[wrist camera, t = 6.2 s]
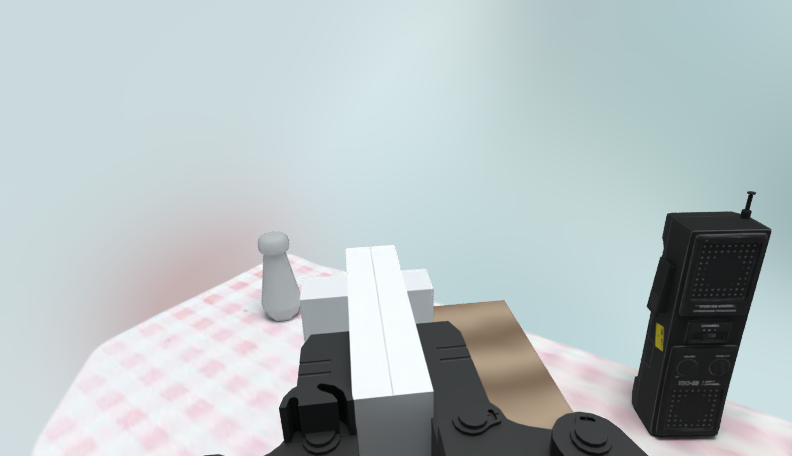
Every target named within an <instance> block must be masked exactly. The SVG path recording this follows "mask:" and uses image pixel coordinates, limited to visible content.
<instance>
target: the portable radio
mask: <svg viewBox="0 0 792 456" xmlns="http://www.w3.org/2000/svg"><path fill="white" fill-rule="evenodd" d="M747 193H748V194H750V195H749V196H748V200H747V203H746V207H745V209H743V210H742V212H741V214H739V213H735V212H690V213H669V214H667V216H666V221H665V226H664V231H663V237H662V239H663V244H664V250H663V255H662V257H660V260H659V264H658V267H657V271H656V275H655V278H654V282H653V286H652V289H651V293H650V297H649V300H648V304H647V307H648V309H649V310H650V311H651V314H650V319H649V324H648V329H647V334H646V339H645V344H644V348H643V354H642V358H641V363H640V368H639V372H638V376H636V377H635V380H634V385H633V390H632V403H633V405H634V408H635V410H636V411H637V413H638V415H639V416H640V418H641V419H642V421H643V423H644V424H645V426H646V428H647V429H648V431H649V432H650V433H651V434H652V435H654V436H712V435H717V434H718V431H719V428H720V423H721V418H722V414H723V409H724V405H725V401H726V396H727V392H728V388H729V384H730V380H731V377H732V373H733V369H734V365H735V361H736V358H737V354H738V350H739V346H740V343H741V339H742V335H743V331H744V328H745V324H746V321H747V317H748V314H749V310H750V307H751V303H752V299H753V296H754V292H755V289H756V285H757V281H758V278H759V274H760V271H761V267H762V263H763V260H764V256H765V253H766V249H767V246H768V242H769V238H770V235H771V229H770V228H768V227H766V226H765V225H763V224H761V223H759V222H758V221H756V220H754V219H752V218H750V216H751V212H752V211H751V210H749V209H750V205H751V201H752V198H753V195H755V194H756V192H752V191H749V192H747Z"/></svg>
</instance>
